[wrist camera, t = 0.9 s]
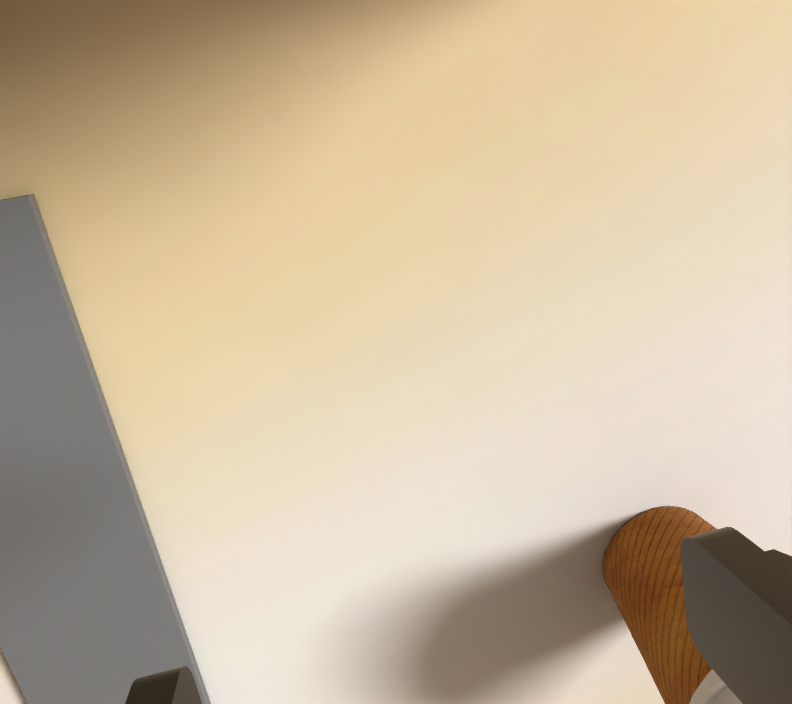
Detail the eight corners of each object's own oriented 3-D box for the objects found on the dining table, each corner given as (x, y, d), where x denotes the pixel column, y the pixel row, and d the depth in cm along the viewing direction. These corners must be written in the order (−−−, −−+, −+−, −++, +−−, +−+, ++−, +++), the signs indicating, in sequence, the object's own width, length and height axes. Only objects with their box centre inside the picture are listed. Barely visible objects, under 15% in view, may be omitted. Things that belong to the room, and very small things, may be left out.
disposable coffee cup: (621, 653, 38) (761, 877, 27) (542, 547, 34) (666, 753, 23) (761, 562, 37) (966, 752, 26) (696, 445, 34) (899, 605, 23)
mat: (-188, 232, 24) (-199, 235, 24) (33, 194, 25) (27, 196, 24) (64, 762, 34) (60, 773, 34) (217, 723, 35) (216, 733, 34)
